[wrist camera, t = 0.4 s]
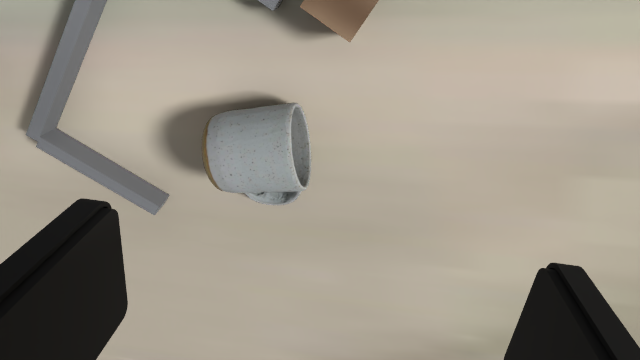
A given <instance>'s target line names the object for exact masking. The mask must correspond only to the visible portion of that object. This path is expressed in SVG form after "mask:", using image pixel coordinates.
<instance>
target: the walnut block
mask: <svg viewBox="0 0 640 360" xmlns="http://www.w3.org/2000/svg"><path fill="white" fill-rule="evenodd" d="M377 2H378V0H304V1H303V3H302V4H301V6H300V7H301V8H302V9H304V10H305V11H306V12H308V13H309V14H311V15H312V16H313V17H315V18H316V19H318V20H319V21H320V22H322V23H323V24H325V25H326V26H327V27H329V28H330V29H332V30H333V31H334V32H336V33H337V34H339V35H340V36H341V37H343V38H344V39H346V40H347V41H348V42H351V40H352V39H353V37H354V36H355V34H356V33H357V31H358V30H359V28H360V27H361V25H362V24H363V22H364V21H365V20H366V18H367V17H368V15H369V14H370V12H371V11H372V9H373V8H374V6H375V5H376V3H377Z"/></svg>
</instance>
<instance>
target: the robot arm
mask: <svg viewBox="0 0 640 360" xmlns="http://www.w3.org/2000/svg"><path fill="white" fill-rule="evenodd" d="M127 305H128V301H127V292H126V282H125V273H124V264H123V254H122V245H121V236H120V226H119V217H118V213H117V211H116V210H115V209H112V208H111V206H110V204H109V203H108V202H105V201H97V200H90V199H79V200H77V201H76V202H75V203H73V204H72V205H71V206H70V207H69V208H67V209H66V210H65V211H64V212H63V213H61V214H60V215H59V216H58V217H57V218H55V219H54V220H53V221H52V222H51V223H49V224H48V225H47V226H46V227H45V228H43V229H42V230H41V231H40V232H39V233H37V234H36V235H35V236H34V237H33V238H31V239H30V240H29V241H28V242H27V243H25V244H24V245H23V246H22V247H21V248H19V249H18V250H17V251H16V252H15V253H13V254H12V255H11V256H10V257H9V258H7V259H6V260H5V261H4V262H3V263H1V264H0V360H96V359H97V357H98V356H99V354H100V353H101V351H102V350H103V348H104V347H105V345H106V344H107V342H108V341H109V339H110V338H111V336H112V335H113V333H114V332H115V330H116V329H117V328H118V326H119V325H120V323H121V322H122V320H123V318H124V316H125V314H126V311H127ZM504 360H640V348H639V347H638V345H637V344H636V342H635V341H634V340H633V338H632V337H631V335H630V334H629V332H628V331H627V330H626V328H625V327H624V325H623V324H622V323H621V321H620V320H619V318H618V317H617V316H616V314H615V313H614V311H613V310H612V309H611V307H610V306H609V304H608V303H607V302H606V300H605V299H604V297H603V296H602V295H601V293H600V292H599V290H598V289H597V288H596V286H595V285H594V283H593V282H592V281H591V279H590V278H589V276H588V275H587V273H586V272H585V271H584V270H583V269H582V268H581V267H579V266H573V265H566V264H559V263H550V264H549V265H548V266H547V267H546V268H541V269H540V270H539V271H538V273H537V275H536V277H535V280H534V283H533V285H532V288H531V290H530V293H529V295H528V298H527V300H526V303H525V305H524V308H523V311H522V313H521V316H520V318H519V321H518V323H517V326H516V328H515V331H514V334H513V336H512V339H511V341H510V344H509V346H508V349H507V351H506V354H505V357H504Z"/></svg>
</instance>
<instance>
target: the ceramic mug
mask: <svg viewBox="0 0 640 360" xmlns="http://www.w3.org/2000/svg"><path fill="white" fill-rule="evenodd" d="M202 157H203V163H204V167H205V170H206V173H207V175H208V177H209V179H210V181H211V182H212V184H213V185H214V186H215V187H216V188H217V189H219V190H221V191H226V192H232V193H245V194H246V195H247V196H248V197H249V198H250V199H252V200H254V201H256V202H259V203H262V204H267V205H285V204H289V203H291V202H293V201H295V200H296V199H297V198H298V196H299V195H300V193H301V191H303V190H306V189H307V187H308V185H309V180H310V173H311V147H310V139H309V131H308V126H307V121H306V117H305V115H304V112H303V110H302V108H301V106H300V105H299V104H298V103H288V104H281V105H273V106H264V107H257V108H251V109H242V110H232V111H227V112H224V113H220V114H217V115H215V116H213V117H212V118H211V119H210V120H209V121H208V122H207V124H206V126H205V129H204V132H203V136H202Z"/></svg>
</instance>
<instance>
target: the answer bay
mask: <svg viewBox="0 0 640 360" xmlns="http://www.w3.org/2000/svg"><path fill="white" fill-rule="evenodd" d="M106 1H107V0H75V2H74V4H73V7H72V10H71V13H70V15H69V18H68V21H67V24H66V26H65V29H64V32H63V35H62V37H61V40H60V43H59V45H58V48H57V51H56V54H55V56H54V59H53V62H52V65H51V67H50V70H49V73H48V76H47V78H46V81H45V84H44V87H43V89H42V92H41V95H40V97H39V100H38V103H37V106H36V108H35V111H34V114H33V117H32V119H31V122H30V125H29V128H28V130H27V133H26V135H27V136H28V137H30V138H32V139H34V140H35V141H37V142H38V143H37V145H36V147H37V148H39V149H41V150H43V151H44V152H46V153H48V154H49V155H51V156H53V157H55V158H56V159H58V160H60V161H62V162H63V163H65V164H67V165H68V166H70V167H72V168H74V169H75V170H77V171H79V172H81V173H82V174H84V175H86V176H87V177H89V178H91V179H93V180H94V181H96V182H98V183H100V184H101V185H103V186H105V187H107V188H108V189H110V190H112V191H113V192H115V193H117V194H119V195H120V196H122V197H124V198H126V199H127V200H129V201H131V202H132V203H134V204H136V205H138V206H139V207H141V208H143V209H145V210H146V211H148V212H150V213H151V214H153V215H155V214H156V213H157V212H158V211H159V209H160V208H161V207H162V206H163V205H164V203H165V202H166V200H167V198H168V197H169V194H167V193H165V192H164V191H162V190H160V189H158V188H157V187H155V186H153V185H152V184H150V183H148V182H147V181H145V180H143V179H142V178H140V177H138V176H136V175H135V174H133V173H131V172H130V171H128V170H126V169H125V168H123V167H121V166H120V165H118V164H116V163H114V162H113V161H111V160H109V159H108V158H106V157H104V156H103V155H101V154H99V153H98V152H96V151H94V150H92V149H91V148H89V147H87V146H86V145H84V144H82V143H81V142H79V141H77V140H76V139H74V138H72V137H70V136H69V135H67V134H65V133H64V132H62V131H60V130H59V129H57V128H56V127H57V124H58V122H59V119H60V117H61V114H62V112H63V109H64V107H65V104H66V102H67V99H68V97H69V94H70V92H71V89H72V87H73V84H74V82H75V79H76V77H77V74H78V72H79V69H80V67H81V64H82V62H83V59H84V57H85V54H86V52H87V49H88V47H89V44H90V41H91V39H92V36H93V34H94V31H95V29H96V26H97V24H98V21H99V19H100V16H101V14H102V11H103V9H104V6H105V4H106ZM258 1H259V2H261V3H262V4H264V5H265V6H267V7H268V8H269V9H271V10H272V11H273V10H275V9H276V8H278V7H279V5H280V4H281V2H282V0H258Z"/></svg>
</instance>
